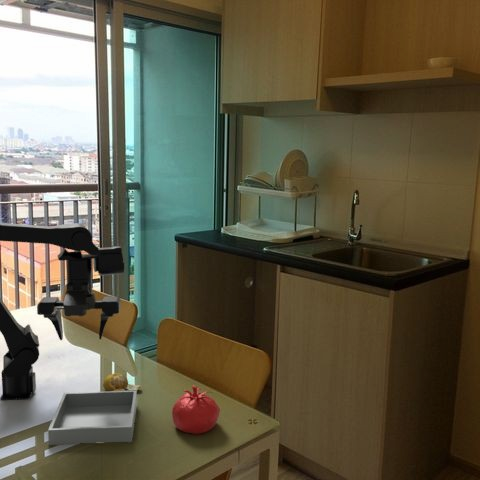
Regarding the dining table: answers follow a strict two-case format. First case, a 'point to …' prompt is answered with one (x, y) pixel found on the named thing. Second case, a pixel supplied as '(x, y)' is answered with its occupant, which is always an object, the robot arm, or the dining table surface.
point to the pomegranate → (195, 412)
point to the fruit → (118, 383)
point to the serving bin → (94, 418)
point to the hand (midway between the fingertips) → (81, 339)
